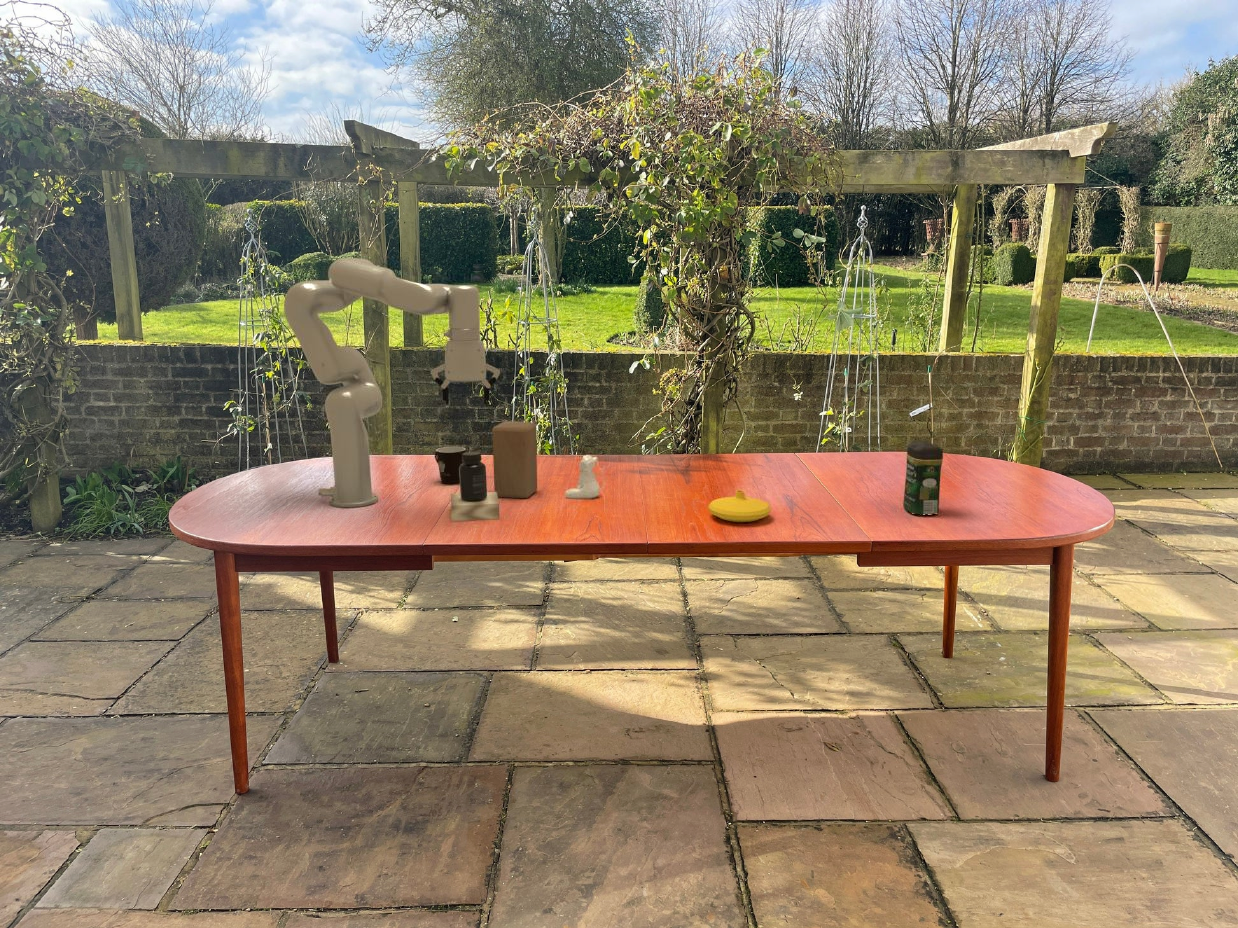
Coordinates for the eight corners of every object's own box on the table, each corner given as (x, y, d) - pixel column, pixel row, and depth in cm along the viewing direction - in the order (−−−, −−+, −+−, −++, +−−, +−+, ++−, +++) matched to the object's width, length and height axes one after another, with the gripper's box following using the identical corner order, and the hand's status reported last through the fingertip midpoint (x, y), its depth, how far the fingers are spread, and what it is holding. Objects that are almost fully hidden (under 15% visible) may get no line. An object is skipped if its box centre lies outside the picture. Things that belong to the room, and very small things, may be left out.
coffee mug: (469, 484, 253) (468, 451, 251) (440, 486, 250) (438, 453, 248) (461, 475, 264) (460, 443, 261) (433, 478, 261) (431, 446, 258)
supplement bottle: (488, 495, 225) (487, 450, 222) (485, 502, 218) (483, 456, 216) (462, 495, 225) (460, 450, 222) (458, 502, 218) (456, 456, 215)
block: (527, 499, 236) (526, 428, 232) (493, 497, 238) (490, 426, 234) (538, 490, 246) (536, 421, 241) (505, 488, 248) (503, 420, 243)
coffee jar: (898, 507, 228) (903, 438, 224) (928, 506, 228) (933, 438, 224) (911, 517, 219) (917, 446, 214) (942, 517, 219) (948, 445, 215)
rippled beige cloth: (451, 521, 216) (450, 505, 215) (451, 508, 227) (450, 494, 226) (499, 518, 218) (499, 503, 217) (497, 506, 229) (496, 491, 228)
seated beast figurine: (582, 490, 246) (582, 449, 243) (608, 494, 241) (607, 452, 239) (563, 497, 238) (563, 455, 235) (589, 502, 234) (589, 459, 231)
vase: (722, 529, 209) (723, 501, 207) (698, 512, 224) (699, 486, 222) (781, 524, 213) (782, 496, 212) (754, 507, 228) (755, 482, 226)
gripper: (428, 336, 209) (431, 406, 213) (500, 336, 212) (501, 405, 216) (429, 334, 216) (432, 401, 220) (499, 334, 219) (500, 400, 223)
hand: (466, 403), depth 218 cm, fingers open, 9 cm apart
